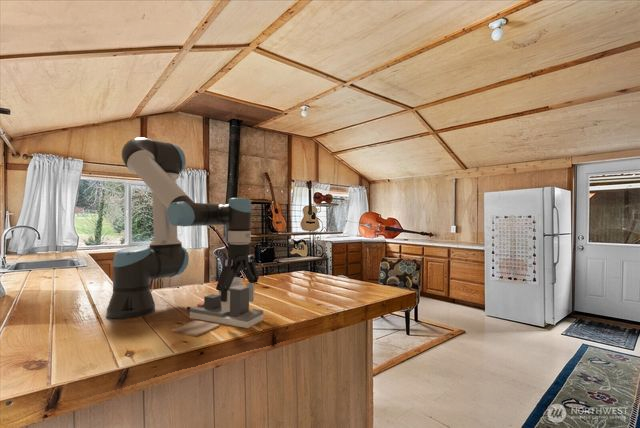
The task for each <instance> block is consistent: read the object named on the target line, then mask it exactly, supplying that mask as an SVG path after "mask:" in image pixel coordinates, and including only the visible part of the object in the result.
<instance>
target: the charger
mask: <svg viewBox="0 0 640 428" xmlns="http://www.w3.org/2000/svg"><path fill="white" fill-rule="evenodd" d="M228 291H230V312H228V316H230V317H236V318H238V316H240V315H242V314H244V313H246V312H249V311H250V301H249V288H248V287H247V285H245V286H244V285H242V286H239V285H237V286H234V287H231V288H229V290H228Z"/></svg>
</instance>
